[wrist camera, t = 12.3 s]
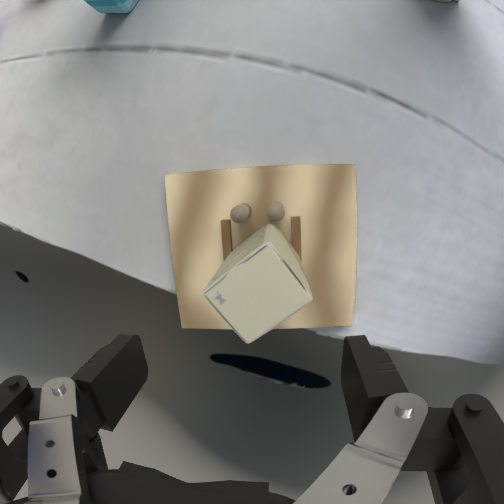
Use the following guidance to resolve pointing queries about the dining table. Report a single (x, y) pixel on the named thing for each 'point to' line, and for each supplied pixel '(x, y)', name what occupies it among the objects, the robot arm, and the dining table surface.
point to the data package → (112, 5)
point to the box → (259, 284)
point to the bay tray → (254, 218)
